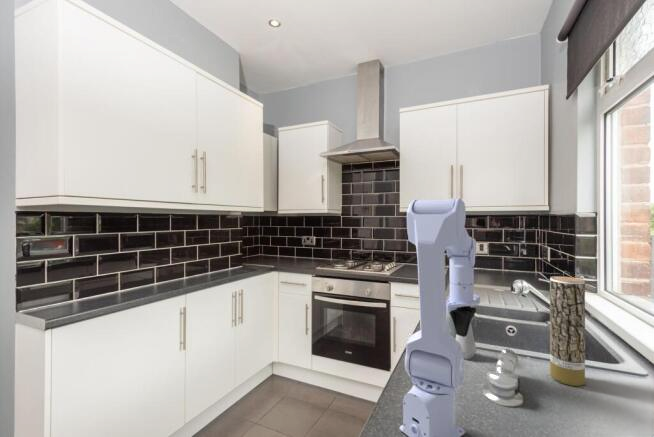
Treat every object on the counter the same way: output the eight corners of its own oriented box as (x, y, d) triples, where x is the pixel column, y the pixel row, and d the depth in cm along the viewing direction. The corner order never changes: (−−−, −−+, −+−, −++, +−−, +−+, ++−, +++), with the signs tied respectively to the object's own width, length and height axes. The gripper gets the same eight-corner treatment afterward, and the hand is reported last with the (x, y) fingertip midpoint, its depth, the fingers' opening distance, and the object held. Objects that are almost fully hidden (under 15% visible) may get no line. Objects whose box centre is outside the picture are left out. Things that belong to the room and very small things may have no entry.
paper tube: (591, 389, 72) (591, 282, 72) (558, 386, 74) (558, 281, 73) (574, 374, 79) (574, 276, 79) (544, 371, 80) (544, 276, 80)
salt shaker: (477, 354, 91) (477, 310, 91) (475, 362, 86) (475, 315, 86) (455, 350, 94) (455, 307, 94) (452, 357, 89) (452, 312, 89)
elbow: (516, 396, 65) (516, 377, 65) (485, 387, 69) (484, 369, 69) (522, 368, 77) (522, 352, 77) (495, 361, 81) (495, 346, 81)
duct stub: (512, 411, 64) (512, 394, 64) (475, 393, 71) (475, 378, 71) (531, 397, 69) (531, 381, 69) (494, 381, 76) (494, 367, 76)
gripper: (459, 289, 72) (460, 347, 72) (491, 281, 81) (491, 333, 81) (433, 284, 78) (434, 337, 78) (465, 277, 86) (466, 325, 86)
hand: (461, 335), depth 80 cm, fingers closed
